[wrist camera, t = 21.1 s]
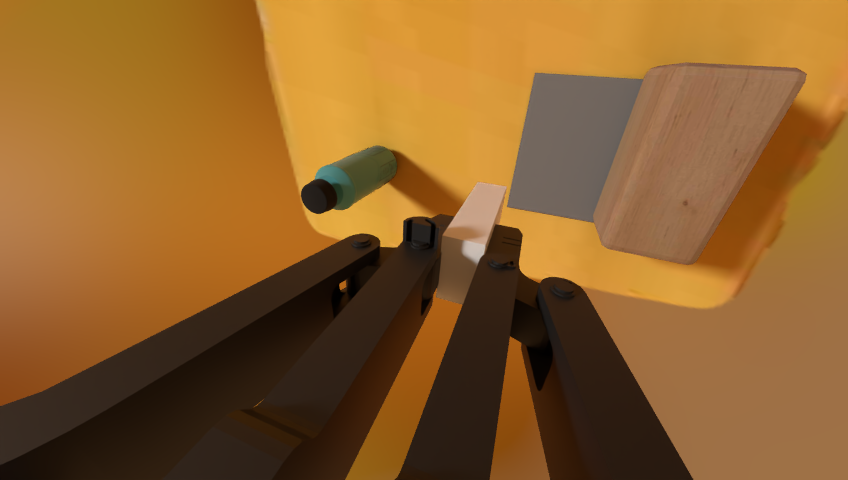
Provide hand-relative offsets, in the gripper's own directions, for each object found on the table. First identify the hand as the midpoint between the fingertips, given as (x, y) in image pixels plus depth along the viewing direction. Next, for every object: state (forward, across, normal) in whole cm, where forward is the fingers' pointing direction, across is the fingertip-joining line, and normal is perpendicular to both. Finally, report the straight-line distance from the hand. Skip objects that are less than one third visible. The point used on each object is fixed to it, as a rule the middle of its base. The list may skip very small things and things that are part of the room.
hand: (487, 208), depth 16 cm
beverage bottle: (+33, -22, -8) cm, 40 cm away
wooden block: (+27, +17, +9) cm, 33 cm away
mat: (+32, +11, -2) cm, 34 cm away
